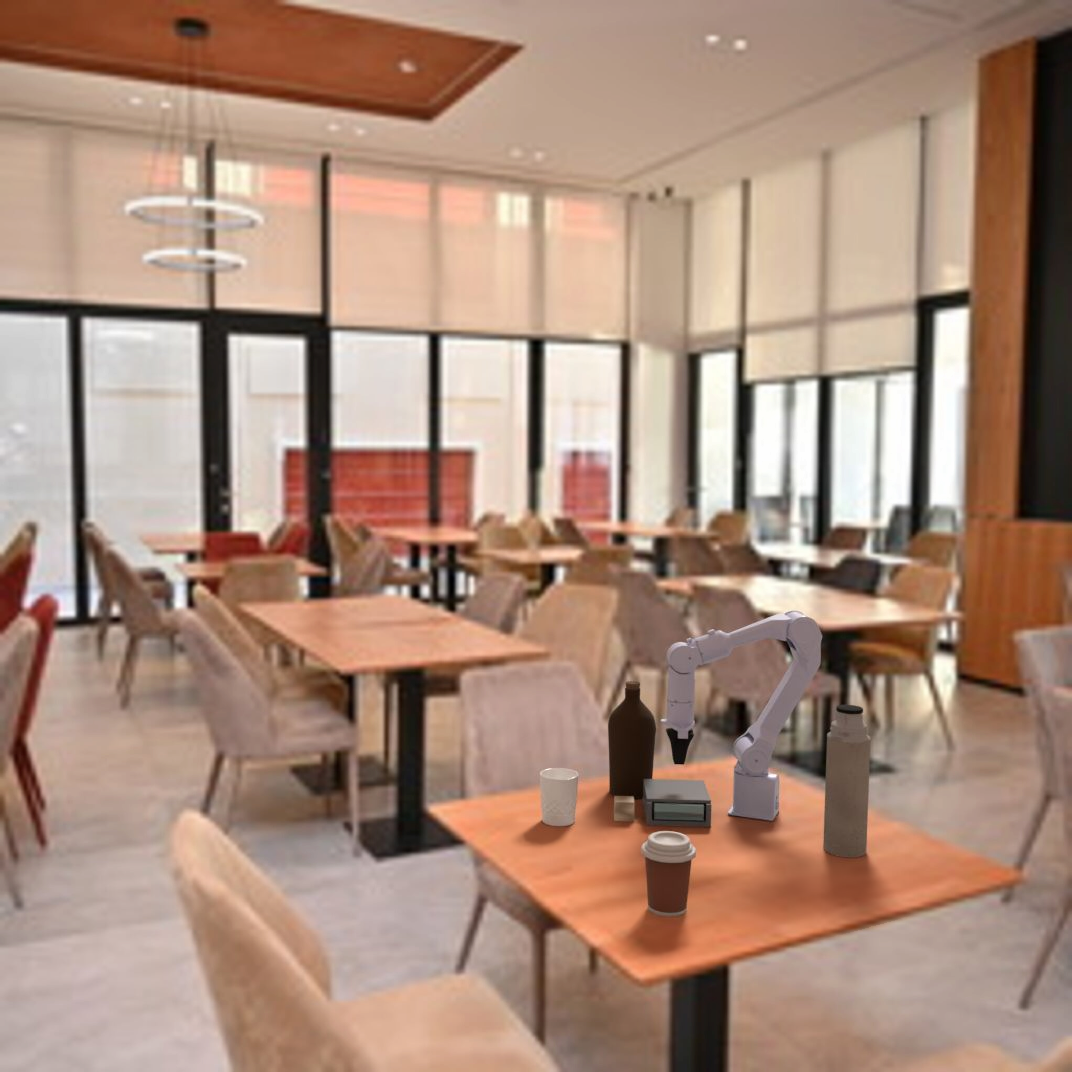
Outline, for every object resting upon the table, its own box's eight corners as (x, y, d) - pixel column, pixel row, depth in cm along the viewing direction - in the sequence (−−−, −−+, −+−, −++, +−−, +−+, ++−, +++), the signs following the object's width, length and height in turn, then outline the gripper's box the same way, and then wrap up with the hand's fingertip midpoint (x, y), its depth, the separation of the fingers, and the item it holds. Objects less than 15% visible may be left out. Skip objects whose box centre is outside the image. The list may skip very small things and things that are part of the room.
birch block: (633, 815, 223) (633, 796, 223) (633, 821, 219) (634, 802, 219) (613, 814, 223) (614, 795, 223) (614, 820, 219) (614, 801, 219)
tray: (697, 801, 229) (697, 787, 228) (703, 820, 217) (703, 805, 216) (650, 800, 229) (650, 786, 229) (654, 819, 217) (654, 804, 217)
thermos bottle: (835, 839, 211) (840, 699, 208) (873, 849, 205) (879, 706, 203) (815, 849, 205) (820, 706, 203) (854, 861, 199) (859, 713, 197)
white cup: (578, 828, 215) (578, 779, 214) (538, 827, 215) (539, 778, 214) (577, 815, 223) (578, 768, 222) (539, 814, 223) (540, 767, 222)
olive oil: (625, 803, 231) (627, 689, 229) (597, 789, 240) (599, 680, 238) (664, 795, 236) (666, 684, 234) (635, 782, 245) (637, 675, 243)
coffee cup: (705, 908, 177) (707, 838, 176) (672, 925, 171) (674, 852, 170) (662, 892, 184) (663, 824, 183) (628, 908, 177) (630, 837, 176)
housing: (702, 803, 231) (703, 780, 231) (710, 827, 217) (711, 802, 216) (642, 802, 232) (643, 778, 231) (646, 825, 217) (647, 800, 217)
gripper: (659, 691, 231) (657, 753, 232) (664, 707, 217) (662, 773, 218) (691, 692, 231) (689, 754, 232) (699, 708, 216) (696, 774, 218)
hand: (678, 763), depth 225 cm, fingers closed
